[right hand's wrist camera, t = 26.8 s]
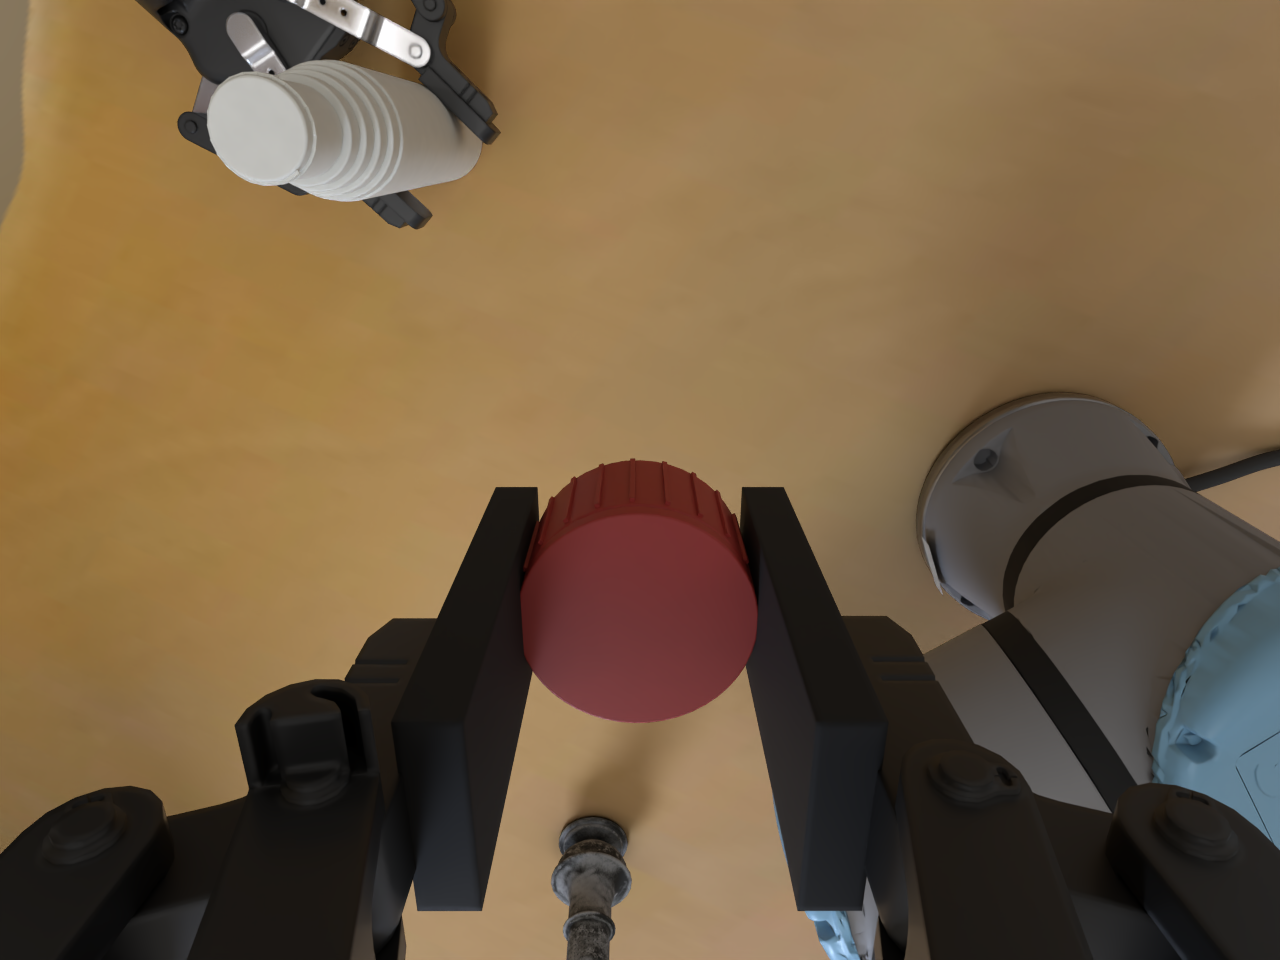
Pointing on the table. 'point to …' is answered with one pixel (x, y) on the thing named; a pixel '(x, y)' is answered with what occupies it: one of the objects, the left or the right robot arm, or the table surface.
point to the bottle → (338, 131)
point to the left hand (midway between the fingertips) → (456, 180)
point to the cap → (637, 594)
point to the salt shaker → (591, 884)
